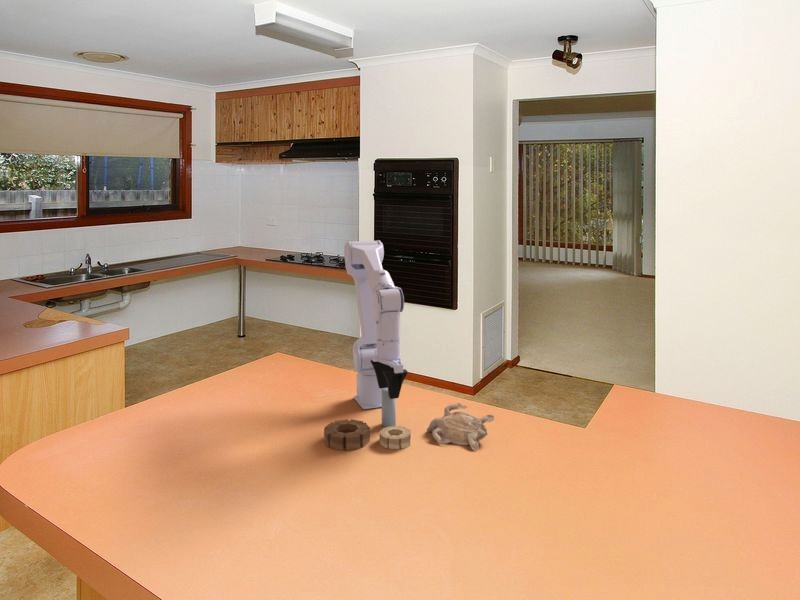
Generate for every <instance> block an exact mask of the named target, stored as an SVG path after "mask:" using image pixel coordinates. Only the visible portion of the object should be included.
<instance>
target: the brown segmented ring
mask: <svg viewBox="0 0 800 600" xmlns="http://www.w3.org/2000/svg"><path fill="white" fill-rule="evenodd" d="M323 439H324V440H323V441H324V443H325V444H326V446H327V447H329V448H330V449H334V450H338V451H344V450H346V451H352V450H357V449H361V447H362V448H364V447H366V445H367V444H369V442H370V441H371V440H370V439H371V427H370V426H369V425H368V423H367V422H364V421H363V420H357V419H350V420H349V418H347V419H340V420H334V421H332V422H330V423H328V424H327V425H325V426H324V429H323Z"/></svg>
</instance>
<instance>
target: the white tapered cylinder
mask: <svg viewBox="0 0 800 600" xmlns="http://www.w3.org/2000/svg"><path fill="white" fill-rule="evenodd" d="M396 399H397V398H395V399H390V398H389V394H388V388H383V389H382V407H381V426H382V427H383V428H386V427H388V426H390V427H391V426H397V424H396V423H397V421H396V419H397V418H396V415H397V414H396V413H397V412H396V410H397V407H396V406H397V405H396Z"/></svg>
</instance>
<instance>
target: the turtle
mask: <svg viewBox="0 0 800 600" xmlns="http://www.w3.org/2000/svg"><path fill="white" fill-rule="evenodd" d="M459 409H464V410H465V409H468V406H467V405H466V404H462V403H460V402H459V403H458V402H457V403H452V404H448V405H446V407H444V410H443V411H444V414H443V416H442V417H435V418H433V419H432V420H431V421H430V423H429V426H428V427H427V428H426V432H427V433H429V432H430V433H431V435H432V437H433V439H434V440H435V441H436V442H437V443H439V444H448V443H451V444H452V445H453V444H454V445H458V446H470V448H471V449H472V450H474V451H478V449H479V448H480V446H479V441H482V440H483V439H484V438H485V437H486V436H488V429H487V428H486V425H485V423H489V422H490V423H491V422H492V421H494V420H495V415H494V414H486V415H484V416H482V417H477V416H476V415H474V414H472V413H469V412H464V411H455V410H459ZM453 410H454V411H455V412H451V411H453Z"/></svg>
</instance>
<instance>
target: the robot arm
mask: <svg viewBox="0 0 800 600" xmlns="http://www.w3.org/2000/svg"><path fill="white" fill-rule="evenodd" d="M343 248H344V250H343V253H344V254H343V255H344V263H345V270H346V273H347V275H348V276H351V277H352V279H353V281H354V286H355V293H356V294H355V295H356V301H357V309H358V317H359V324H360V325H359V326H360V332H361V336H360V337H358V339H356V340H355V341H354V343H353V345H352V363H353V364H352V365H353V368H354V370H355V371H356V395H353V399H354V400H355V402H356V403H358V405H359V406H360V407H361V408H362V409H363V410H369V409H375V408H382V389H383V388H388V394H389V398H390V399H395V398H396V399H399V397H400V393H401V390H402V386H403V384H404V381H405V379H406V377H407V375H408V370H407V369H406V368H405V369H404V364H403V361H402V355H401V313H402V312H403V311H404V309H405V308H404V307H405V295H404V293H403V289H402V288H401V287H398V286H395V283H394V281H393V279H392V277H391V274H390V272H388V270H385V269H384V268H383V265H382V263H383V260H384V255H385V250H384V249H385V248H384V244H383V242H381V240H379V239H377V240H365V241H364V240H361V241H360V240H358V241H356V240H355V241H350V240H347V241H346V243H345V244H344V247H343Z"/></svg>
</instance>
